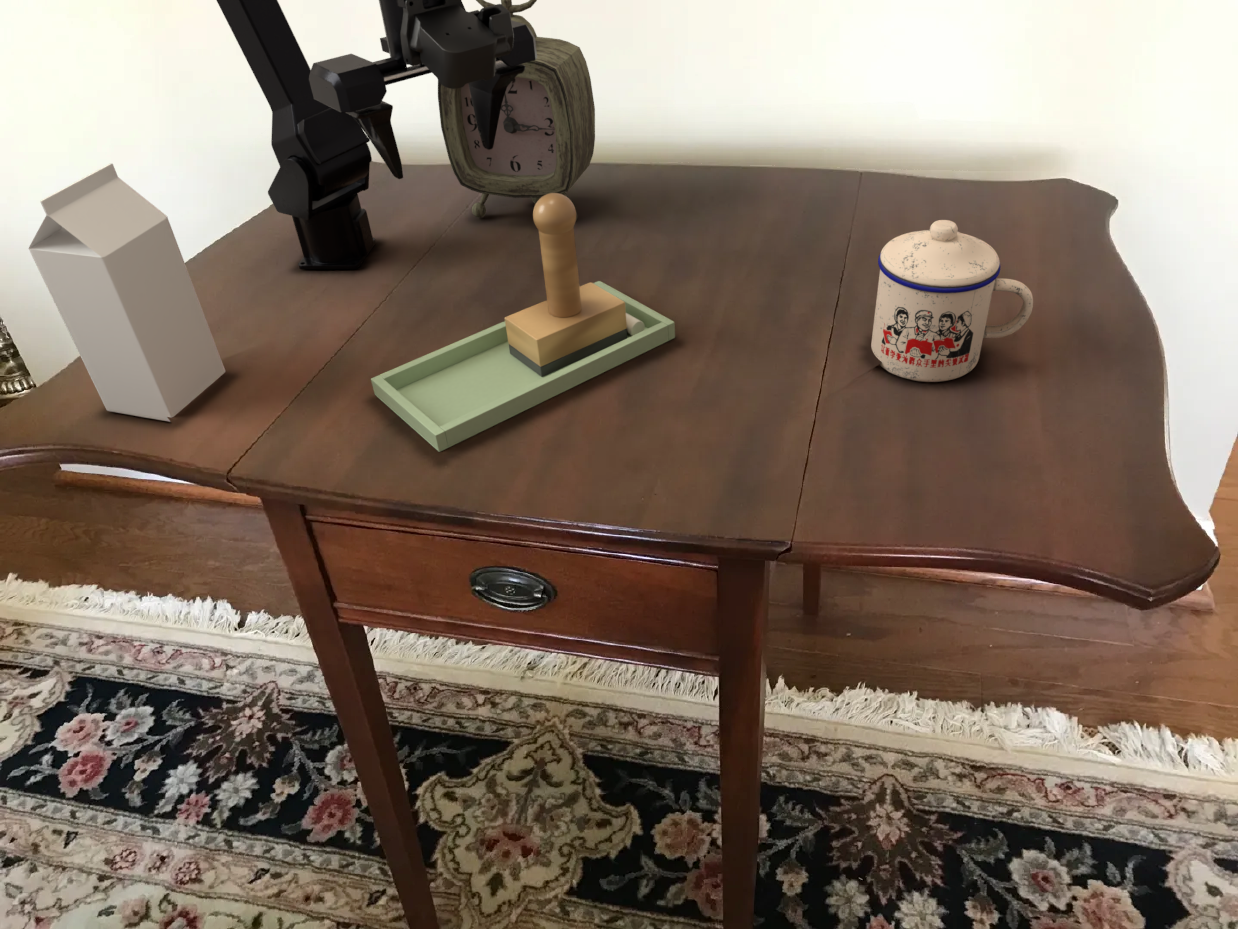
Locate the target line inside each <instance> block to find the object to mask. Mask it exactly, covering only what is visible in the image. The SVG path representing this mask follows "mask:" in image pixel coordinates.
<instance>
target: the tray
mask: <svg viewBox="0 0 1238 929" xmlns="http://www.w3.org/2000/svg"><path fill="white" fill-rule="evenodd" d="M592 283H593V284H595V285H597V286H598V287H600V288H602V289H603V290H605V291H607V292H609V293H610V294H612V295H614V296H615V297H617V298H619V299H621V300H622V301H624V302H625V309H626V313H628V314H630V315H631V316H633V317H635V318H637V319H638V320H640V321H642V322H643V323H644V325H645V328H644V331H642V332H640V333H638V334H635V335H633V336H631V335H630V334H628V333H627V339H625V340H623V341H621V342H618V343H616V344H614V345H612V346H609V347H607V348H605V349H603V350H601V351H598V352H596V353H594V354H592V355H590V356H587V357H585V358H583V359H581V360H579V361H576V362H574V363H572V364H570V365H568V366H565V367H563V368H561V369H559V370H556V371H554V372H552V373H550V374H548V375H545V376H543V377H541V376H540V375H538V374H537V373H536V372H534V371H533V370H532V369H530V368H529V367H527V366H526V365H525V364H523V363H522V362H521V361H519V360H518V359H517V358H515V357H514V356H513V355H511V354H510V350H509V343H508V337H507V331H506V324H505V320H504V321H502V322H499V323H497V324H495V325H492V326H490V327H488V328H485V329H483V330H480V331H478V332H476V333H474V334H471V335H470V336H467V337H464V338H462V339H460V340H458V341H455V342H453V343H451V344H449V345H446V346H443V347H441V348H439V349H436V350H434V351H432V352H430V353H427V354H425V355H422V356H420V357H417V358H415V359H413V360H410V361H409V362H406V363H403V364H401V365H399V366H397V367H395V368H392V369H390V370H387V371H385V372H383V373H381V374H378V375H376V376H374V377H372V378H370V382H371V386H372V389H373V393H374V396H376V398H378V399H379V400H380V401H381V402H382V403H383V404H385V405H386V406H387V407H388V408H389V409H390V410H391V411H392V412H394V413H395V414H396V415H397V416H398V417H399V418H401V420H403V421H404V422H405V423H406V424H407V425H408V426H409V427H410V428H411V429H413V430H414V431H415V432H416V433H417V434H418V435H419V436H421V437H422V438H423V439H424V440H425V441H426V442H427V443H428V444H430V446H432V447H433V448H434V449H435V450H436V451H437V452H439V453H440V452H442V451H444V450H446V449H448V448H451V447H452V446H455V445H457V444H459V443H462V442H463V441H465V440H467V439H469V438H472V437H473V436H476V435H477V434H479V433H482V432H483V431H486V430H488V429H490V428H492V427H493V426H496V425H499V424H500V423H502V422H504V421H507V420H508V419H510V418H512V417H515V416H517V415H519V414H521V413H522V412H524V411H527V410H528V409H531V408H534V407H535V406H537V405H539V404H541V403H543V402H545V401H547V400H549V399H552V398H553V397H555V396H558V395H560V394H562V393H564V392H566V391H568V390H570V389H572V388H574V387H576V386H578V385H580V384H582V383H584V382H586V381H589V380H591V379H593V378H595V377H597V376H599V375H601V374H603V373H604V372H607V371H609V370H612V369H613V368H615V367H618V366H620V365H622V364H624V363H626V362H628V361H630V360H632V359H634V358H636V357H639V356H640V355H642V354H645V353H646V352H649V351H651V350H652V349H654V348H656V347H658V346H661V345H663V344H665V343H667V342H669V341H671V340H673V339H675V338H676V327H675V326H676V325H675V324H676V323H675V321H674V320H672V319H670V318H668V317H667V316H664V315H663V314H661V313H659V312H657V311H655V310H654V309H652V308H650V307H648V306H647V305H645V304H643V303H641V302H640V301H637V300H636V299H634V298H632V297H630V296H628V295H626V294H625V293H623V292H621V291H619V290H617V289H616V288H614V287H612V286H610V285H608V284H606V283H605V282H603V281H601V280H597V281H595V282H592Z"/></svg>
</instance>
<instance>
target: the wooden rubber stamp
mask: <svg viewBox="0 0 1238 929" xmlns="http://www.w3.org/2000/svg"><path fill="white" fill-rule="evenodd" d="M576 213H577V210H576V207H575V205H574V203H573V202H572V199H570V198H569V197H567V195H566V196H564V195H562V194H559V193H549V194H546V195H544V196H543V197H541V198H540V199H539V200H538V201H537V203H534V207H533V211H532V220H533V223H534V225H535V228H537V231H538V238H539V245H540V254H541V255H540V256H541V263H542V270H543V278H544V279H543V280H544V284H545V285H544V287H545V293H546V294H545V295H546V300H543V301H541V302H539V303H537V304H534V305H531V306H529V307H525V308H524V309H522V310H519V311H516V312H514V313H512V314H509V315H507V316H505V317H504V321H505V324H506V331H507V337H508V343H509V350H510V354H511V355H513V356H514V357H515V358H517V359H518V360H519V361H521V362H522V363H523V364H525V365H526V366H527V367H529V368H530V369H532V370H533V371H534V372H536V373H537V374H538V375H540V376H541V377H543V376H545V375H548V374H550V373H552V372H554V371H556V370H559V369H561V368H563V367H565V366H568V365H570V364H572V363H574V362H576V361H579V360H581V359H583V358H585V357H587V356H590V355H592V354H594V353H596V352H598V351H601V350H603V349H605V348H607V347H609V346H612V345H614V344H616V343H618V342H621V341H623V340H625V339H627V329H626V328H627V325H626V309H625V302H624V301H622V300H621V299H619V298H617V297H615V296H614V295H612V294H610V293H609V292H607V291H605V290H603V289H602V288H600V287H598V286H597V285H595V284H593V283H594V282H587V283H585V284H582V285H580V276H579V269H578V268H579V267H578V257H577V256H578V255H577V248H576V236H575V224H576V221H577V219H576Z"/></svg>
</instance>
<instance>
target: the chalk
mask: <svg viewBox="0 0 1238 929" xmlns="http://www.w3.org/2000/svg"><path fill="white" fill-rule="evenodd" d="M626 325H627V328H626V329H627V333H628V334H630V335H631V336H633V335H635V334H638V333H640V332H642V331H644V328H645V325H644V323H643V322H642V321H640V320H638V319H637V318H635V317H633V316H631V315H630V314H628V313H626Z"/></svg>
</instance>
